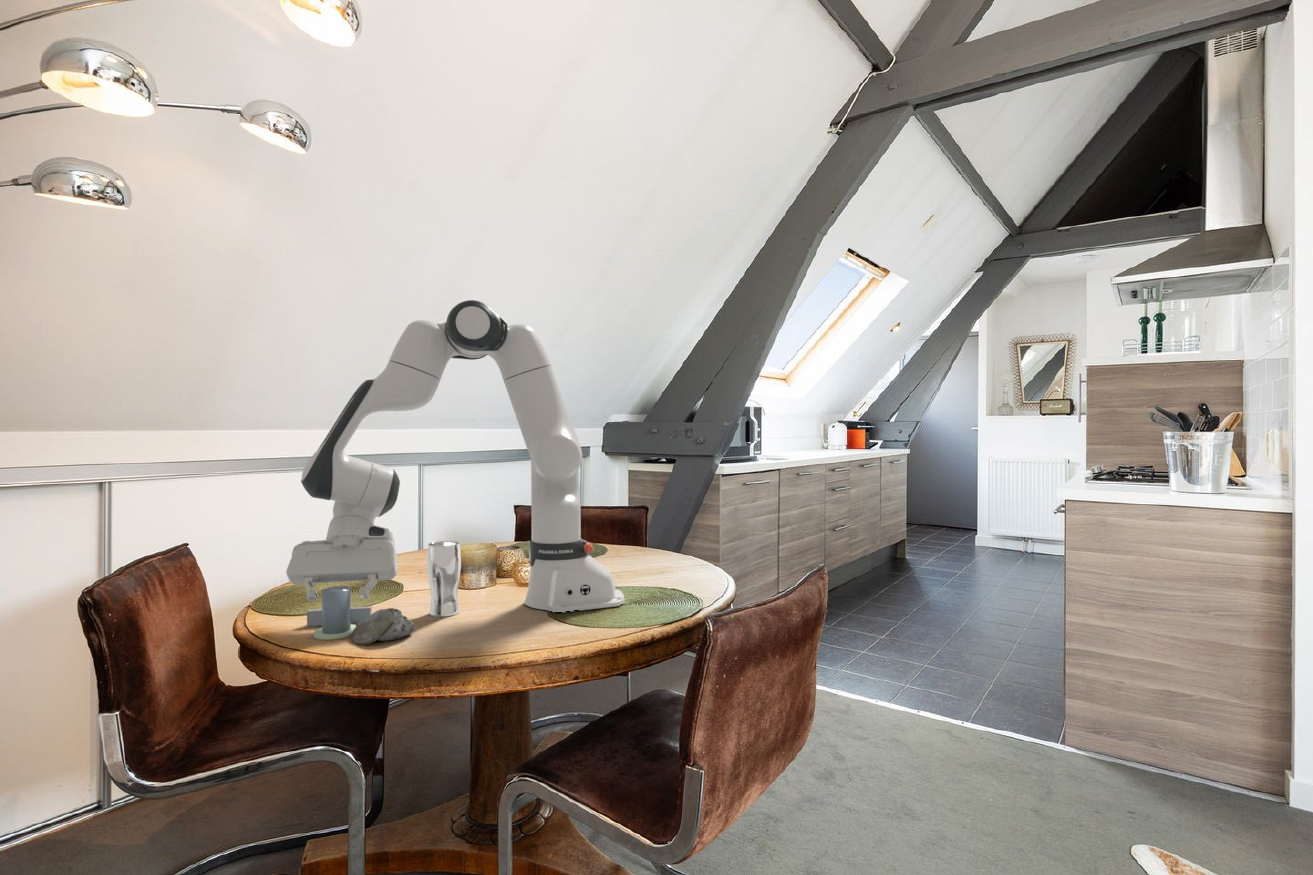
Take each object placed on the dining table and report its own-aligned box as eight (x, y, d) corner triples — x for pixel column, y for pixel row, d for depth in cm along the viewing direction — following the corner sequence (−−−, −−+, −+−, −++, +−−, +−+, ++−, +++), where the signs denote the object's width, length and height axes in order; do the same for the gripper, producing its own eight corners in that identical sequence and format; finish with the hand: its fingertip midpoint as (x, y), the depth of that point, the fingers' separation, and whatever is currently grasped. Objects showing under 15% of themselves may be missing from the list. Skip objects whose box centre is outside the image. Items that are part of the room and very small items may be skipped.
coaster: (363, 625, 133) (363, 622, 133) (353, 638, 125) (353, 635, 125) (320, 628, 131) (320, 625, 131) (307, 641, 123) (307, 638, 123)
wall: (371, 621, 136) (371, 606, 136) (370, 622, 135) (370, 607, 135) (308, 624, 134) (308, 609, 133) (307, 626, 133) (306, 611, 132)
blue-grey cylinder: (353, 625, 131) (353, 585, 131) (347, 633, 126) (346, 591, 126) (326, 627, 130) (325, 586, 130) (318, 635, 125) (318, 593, 125)
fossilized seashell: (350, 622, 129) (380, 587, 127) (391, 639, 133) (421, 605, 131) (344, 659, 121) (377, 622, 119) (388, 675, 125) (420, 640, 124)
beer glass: (451, 618, 137) (450, 547, 137) (420, 616, 139) (420, 545, 139) (467, 609, 144) (466, 541, 144) (438, 607, 146) (437, 540, 145)
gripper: (291, 532, 134) (274, 593, 124) (398, 529, 138) (390, 587, 128) (298, 550, 138) (283, 610, 129) (402, 546, 142) (394, 603, 133)
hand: (337, 598), depth 128 cm, fingers open, 8 cm apart
